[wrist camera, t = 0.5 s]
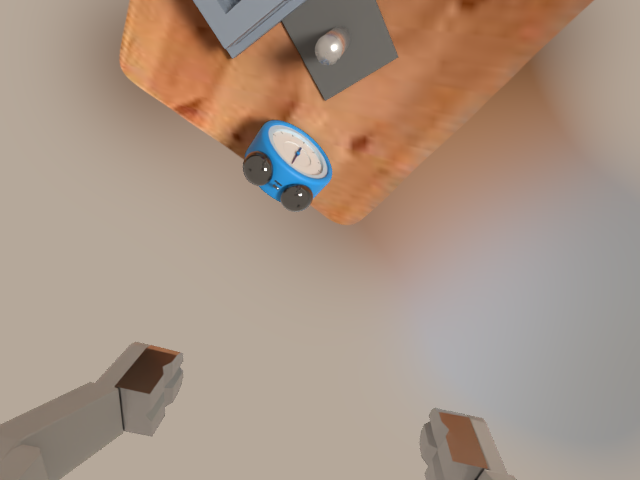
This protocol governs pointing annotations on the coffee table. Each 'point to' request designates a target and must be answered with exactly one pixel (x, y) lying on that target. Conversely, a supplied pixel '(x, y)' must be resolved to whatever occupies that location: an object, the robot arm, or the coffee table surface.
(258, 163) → the alarm clock
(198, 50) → the coffee table surface
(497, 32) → the coffee table surface
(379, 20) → the rubber mat
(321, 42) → the steel pin
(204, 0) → the grey block with hole
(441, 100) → the coffee table surface
